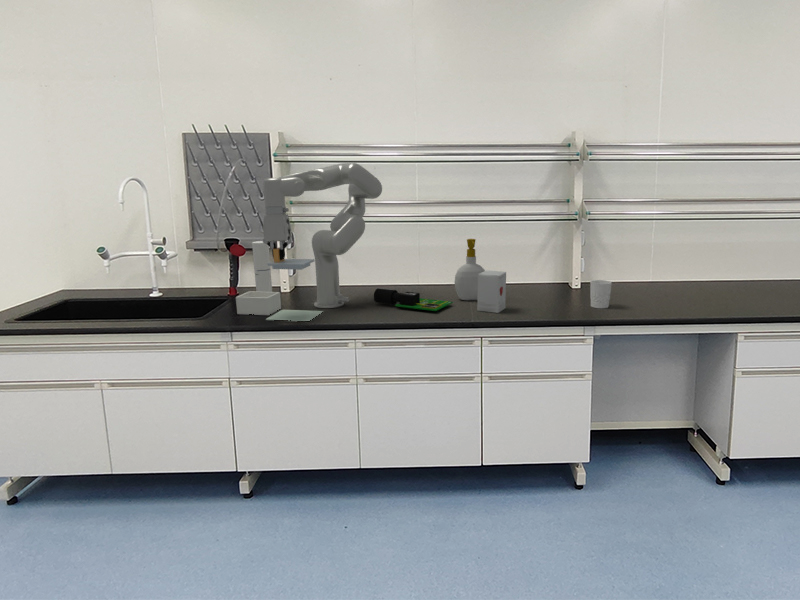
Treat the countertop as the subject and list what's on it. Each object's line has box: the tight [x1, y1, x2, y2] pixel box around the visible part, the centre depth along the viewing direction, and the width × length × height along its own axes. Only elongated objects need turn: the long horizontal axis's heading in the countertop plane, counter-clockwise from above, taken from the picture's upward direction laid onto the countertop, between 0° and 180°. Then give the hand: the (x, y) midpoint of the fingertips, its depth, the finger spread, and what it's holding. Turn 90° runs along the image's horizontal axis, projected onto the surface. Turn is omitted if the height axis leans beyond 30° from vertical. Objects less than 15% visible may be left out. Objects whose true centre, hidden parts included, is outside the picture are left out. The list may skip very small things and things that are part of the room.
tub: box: [235, 290, 282, 316], centre depth 227 cm, size 14×11×7 cm
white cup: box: [589, 279, 612, 309], centre depth 220 cm, size 8×8×10 cm
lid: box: [267, 246, 315, 271], centre depth 213 cm, size 14×11×7 cm
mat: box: [265, 309, 324, 322], centre depth 219 cm, size 18×15×1 cm
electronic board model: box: [373, 287, 453, 312], centre depth 230 cm, size 30×7×15 cm
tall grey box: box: [251, 240, 273, 292], centre depth 252 cm, size 7×7×25 cm
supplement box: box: [476, 270, 507, 314], centre depth 219 cm, size 9×9×15 cm
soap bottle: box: [454, 238, 486, 301], centre depth 235 cm, size 14×9×26 cm, turn 96°
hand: (279, 258), depth 215 cm, fingers closed on lid
